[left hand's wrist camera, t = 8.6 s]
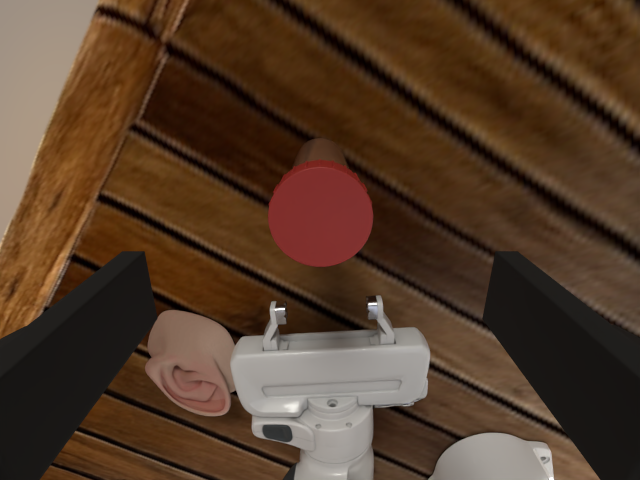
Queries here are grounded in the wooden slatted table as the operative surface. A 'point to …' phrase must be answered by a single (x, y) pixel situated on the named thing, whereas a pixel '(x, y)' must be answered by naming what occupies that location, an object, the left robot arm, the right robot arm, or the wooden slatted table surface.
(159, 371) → the anatomical model
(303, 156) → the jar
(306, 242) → the lid
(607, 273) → the wooden slatted table surface
